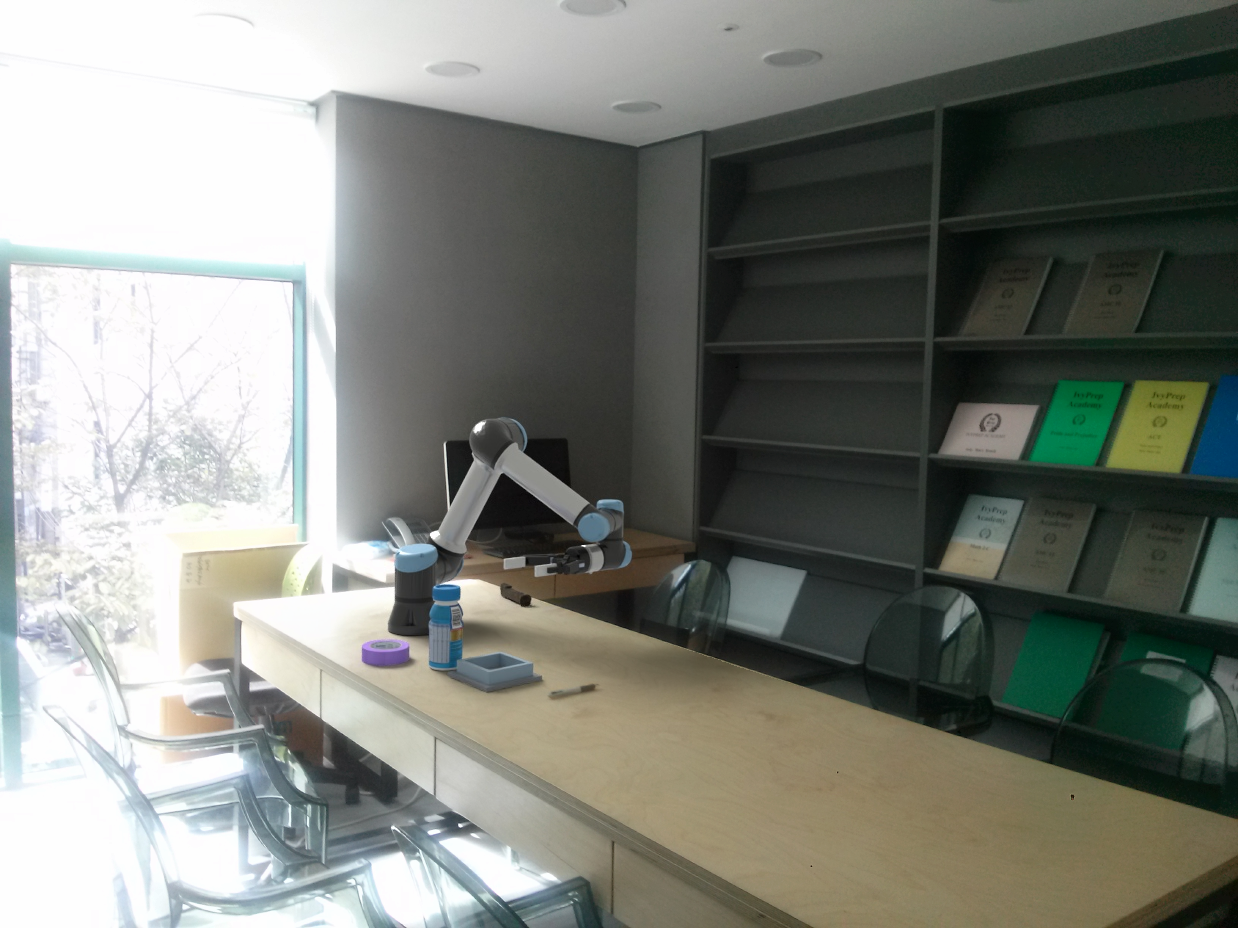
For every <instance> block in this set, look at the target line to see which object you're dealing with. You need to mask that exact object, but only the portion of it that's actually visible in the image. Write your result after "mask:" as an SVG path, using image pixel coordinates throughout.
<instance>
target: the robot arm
mask: <svg viewBox="0 0 1238 928" xmlns="http://www.w3.org/2000/svg"><path fill="white" fill-rule="evenodd" d="M527 443H528V436H527V432H526V429H525V428H524V427H523V425H522V424H521V423H520V422H518V421H517V420H515V419H512V418H509V417H498V418H485V419H483V420H480V421H479V422H477V423H476V424H475V425H474V426H473V428H472V429H471V432H470V433H469V446H470V449H471V451H472V453H471V455H472V458H473V462H472V463H471V466H470V467H469V469H468V471H467V473H466V475H465V478H463V481H462V483H461V485H460V487H459V489H458V491H457V492H456V495H455V497H454V499H453V501H452V503H451V504H450V507H449V509H448V511H447V512H446V514H445V516H444V518H443V520H442V522H441V524H440V526H439V528H438V530H434V531H431V532H430V534H429V536H428V538H427V540H426V542H425V543H412V544H407V545H403V546H401V547H400V548H398V549H397V550H396V551H395V557H394V558H395V559H394V565H393V566H394V601H393V602H394V603H393V606H392V610H391V612H390V615H389V618H388V621H387V630H388V632H390V633H392V634H395V635H401V636H425V635H429V622H430V620H431V618H430V616H429V613H430V610H431V608H432V606H433V605H434V603H435V601H434V600H433V587H434V586H436V585H442V584H445V583H449V582H450V581H452V580H454V579H455V578H456V577H457V576H459V574H461V572H462V570H463V567H464V566H465V565H464V564H465V557H464V556H465V555H466V553H467V551H468V550H467V546H466V542H467V539H468V537H469V536H470V535H471V531H472V530H473V529H474V526H475V524H476V522H477V520H478V519H479V517H480V515H481V513H482V511H483V509H484V506H485V505H486V503H487V501H488V499H489V497H490V495H491V493H492V491H493V490H494V488H495V486H496V484H497V482H498V480H499V478H500V476H501V474H504V475H506V476H507V477H509V478H510V479H511V480H513V482H515V483H516V484H518V485H519V486H520V487H522V488H523V489H525V490H526V492H528V493H530V494H531V495H533V497H535V498H536V499H537V500H539V501H540V502H542V503H543V505H545V506H547V507H548V508H549V509H551V510H552V511H553V512H554V513H556V514H557V515H559V516H560V517H561V518H563V519H564V520H565V521H566V522H567V523H569V524H570V525H572V526H573V527H574V528H576V530H578V534H579V535H580V537H581V538H582V539H583V540H585V541H586V542H589V543H592V544H584V545H576V546H570V547H568V548H567V549H566V550H565V552H564V553H554V552H553V553H547V554H545V553H544V554H541V553H540V554H520V556H517V557H510V558H503V570H512V569H520V568H521V569H525V568H526V566H527V567H528V566H529V567H534V577H535V578H539V577H546V576H553V575H557V574H558V575H562V574H563V575H564V576H568V575H573V576H574V575H581V574H587V573H589V575H592V574H593V572H599V571H609V570H618V569H621V568H625V567H627V566H628V565H629V564H630V563H631V560H632V556H633V552H632V549H631V546H630V544H629V543H628V542H626V541H624V516H625V511H624V503H623V501H622V500H619V499H600V500H598V501H597V502H596V506H594V505H593V504H592V503H590V502H589V501H588V500H586V499H585V498H584V497H582V496H581V495H580V494H579V493H577V492H576V491H575V490H573V489H572V488H570V486H568V485H567V484H565V483H564V482H562V481H561V480H560V479H559V478H557V477H556V476H555V475H553V474H552V473H551V472H549V471H548V470H547V469H545V468H544V467H543V466H541V465H540V464H539V463H538V462H536V461H535V460H534V459H532V458H531V457H530V456H528V455H527V454H526V453H524V451H525V449H526V448H527ZM594 542H595V543H594Z"/></svg>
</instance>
